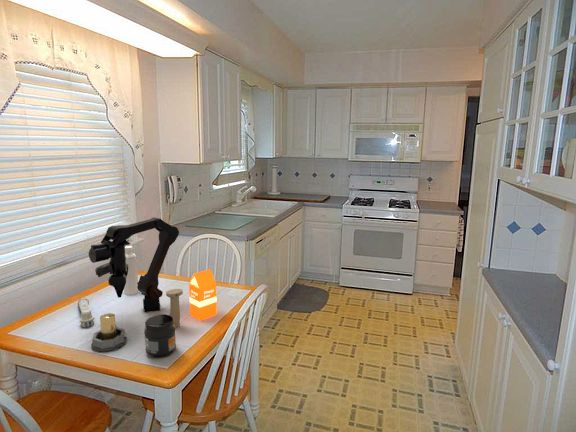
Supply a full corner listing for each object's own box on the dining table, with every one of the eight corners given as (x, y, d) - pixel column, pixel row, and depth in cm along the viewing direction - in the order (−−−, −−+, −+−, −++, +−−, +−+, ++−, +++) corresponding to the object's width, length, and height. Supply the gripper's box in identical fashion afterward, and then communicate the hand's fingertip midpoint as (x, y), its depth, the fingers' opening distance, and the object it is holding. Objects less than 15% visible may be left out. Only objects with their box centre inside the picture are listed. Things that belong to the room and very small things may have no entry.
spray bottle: (123, 290, 189) (120, 242, 184) (138, 288, 192) (135, 241, 187) (124, 295, 183) (121, 246, 179) (138, 293, 186) (136, 244, 181)
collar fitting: (127, 333, 147) (127, 324, 146) (125, 349, 136) (125, 339, 135) (93, 338, 143) (93, 328, 142) (88, 354, 132) (88, 344, 131)
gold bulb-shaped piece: (114, 336, 143) (112, 311, 142) (120, 341, 140) (118, 316, 138) (98, 341, 140) (96, 316, 138) (104, 347, 136) (102, 321, 134)
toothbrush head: (88, 296, 173) (93, 309, 152) (90, 310, 173) (95, 325, 152) (75, 298, 170) (78, 312, 149) (77, 312, 171) (80, 328, 149)
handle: (185, 326, 154) (184, 291, 151) (170, 330, 150) (168, 295, 147) (181, 321, 158) (179, 287, 155) (165, 325, 154) (164, 291, 151)
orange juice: (217, 314, 165) (216, 271, 161) (199, 321, 159) (198, 276, 155) (206, 309, 170) (205, 266, 166) (189, 315, 164) (188, 271, 160)
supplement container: (181, 345, 139) (180, 315, 137) (166, 361, 129) (165, 328, 127) (156, 341, 142) (154, 312, 139) (139, 356, 131) (137, 324, 129)
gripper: (99, 252, 159) (101, 287, 162) (92, 265, 142) (95, 304, 145) (127, 250, 163) (129, 284, 166) (124, 263, 145) (126, 301, 148)
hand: (120, 293), depth 156 cm, fingers open, 9 cm apart
